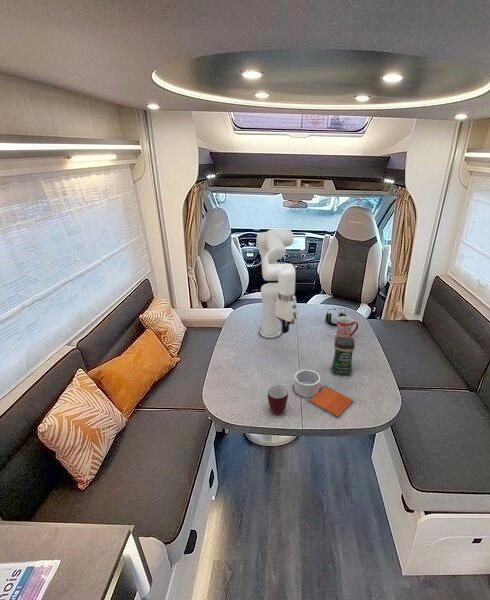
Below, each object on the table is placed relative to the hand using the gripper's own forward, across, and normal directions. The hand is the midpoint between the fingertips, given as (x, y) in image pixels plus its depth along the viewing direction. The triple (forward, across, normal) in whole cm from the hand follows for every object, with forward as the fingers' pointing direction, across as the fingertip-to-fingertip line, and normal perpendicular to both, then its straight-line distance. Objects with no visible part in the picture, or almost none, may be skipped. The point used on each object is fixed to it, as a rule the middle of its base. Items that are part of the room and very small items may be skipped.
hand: (285, 331), depth 147 cm
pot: (+21, -17, +4) cm, 28 cm away
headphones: (+21, +8, -62) cm, 66 cm away
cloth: (+21, -30, +4) cm, 37 cm away
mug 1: (+21, -16, +23) cm, 35 cm away
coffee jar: (+21, -22, -18) cm, 36 cm away
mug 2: (+21, -8, -46) cm, 51 cm away
